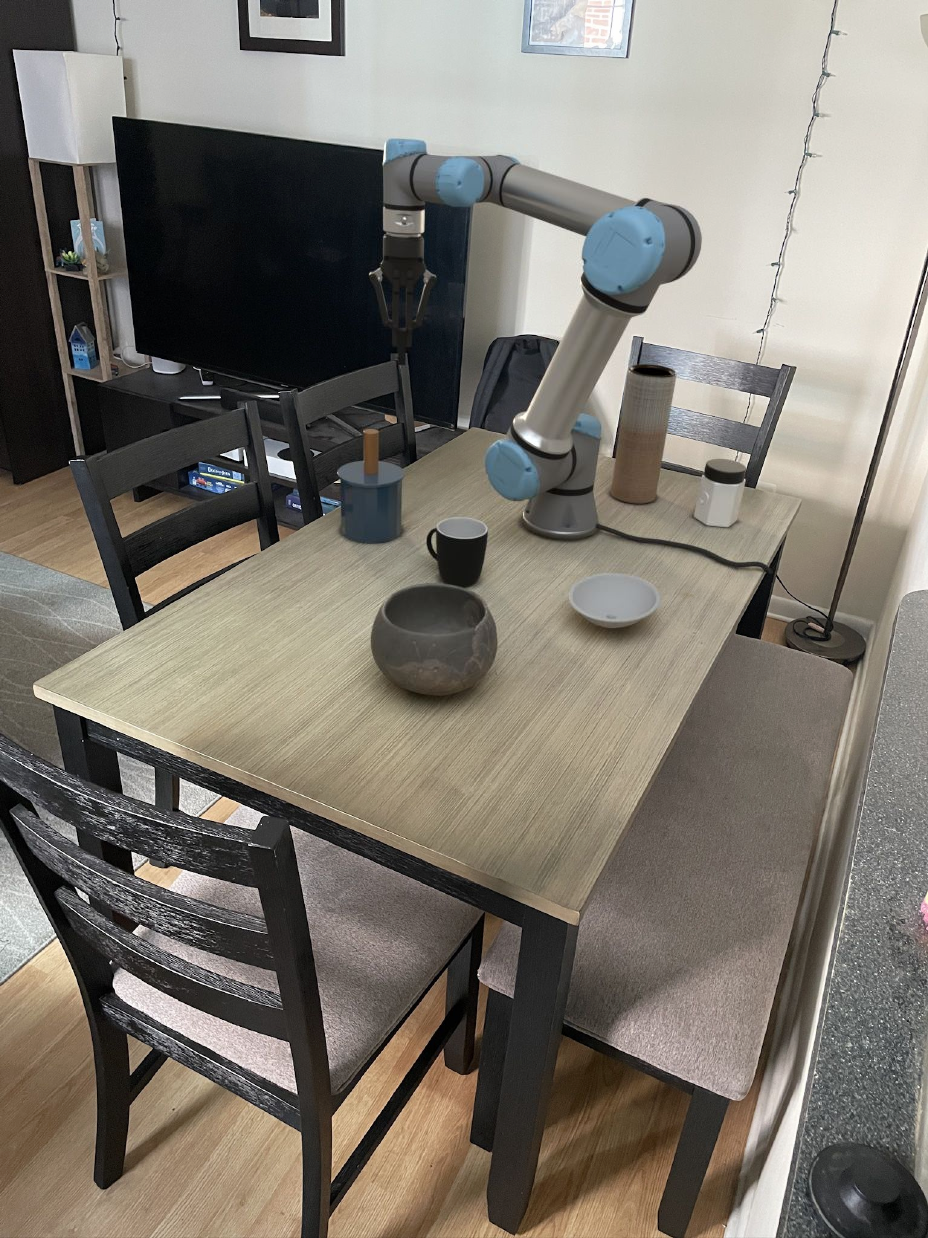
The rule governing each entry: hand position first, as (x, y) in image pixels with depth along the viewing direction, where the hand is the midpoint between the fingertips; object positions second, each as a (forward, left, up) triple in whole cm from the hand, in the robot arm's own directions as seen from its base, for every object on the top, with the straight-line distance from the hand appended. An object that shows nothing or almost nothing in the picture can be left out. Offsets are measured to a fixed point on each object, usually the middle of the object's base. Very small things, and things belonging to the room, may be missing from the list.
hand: (401, 363), depth 176 cm
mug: (-32, +19, -29) cm, 47 cm away
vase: (-34, -39, -29) cm, 59 cm away
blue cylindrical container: (-8, +16, -28) cm, 34 cm away
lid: (-8, +16, -17) cm, 25 cm away
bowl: (-52, +46, -29) cm, 75 cm away
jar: (-53, -41, -29) cm, 73 cm away
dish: (-61, +12, -29) cm, 68 cm away
